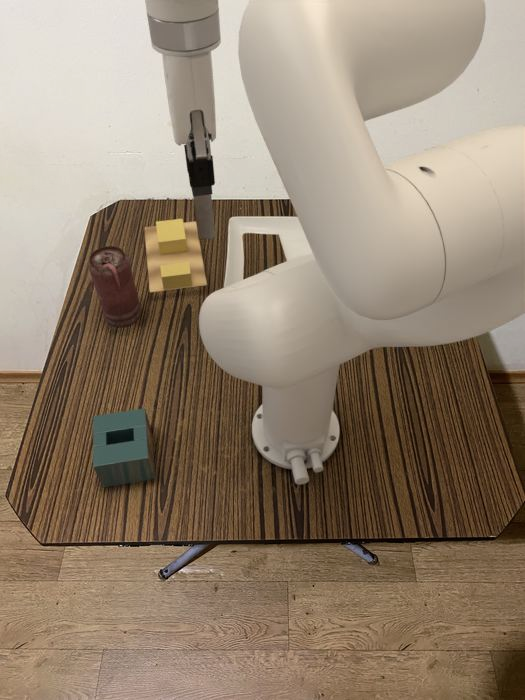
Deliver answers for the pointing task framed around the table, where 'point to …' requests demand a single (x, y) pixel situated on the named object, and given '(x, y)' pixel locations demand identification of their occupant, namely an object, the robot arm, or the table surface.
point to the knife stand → (123, 448)
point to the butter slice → (176, 275)
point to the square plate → (284, 226)
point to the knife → (203, 210)
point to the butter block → (171, 236)
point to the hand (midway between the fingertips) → (201, 177)
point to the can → (115, 286)
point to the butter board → (174, 257)
